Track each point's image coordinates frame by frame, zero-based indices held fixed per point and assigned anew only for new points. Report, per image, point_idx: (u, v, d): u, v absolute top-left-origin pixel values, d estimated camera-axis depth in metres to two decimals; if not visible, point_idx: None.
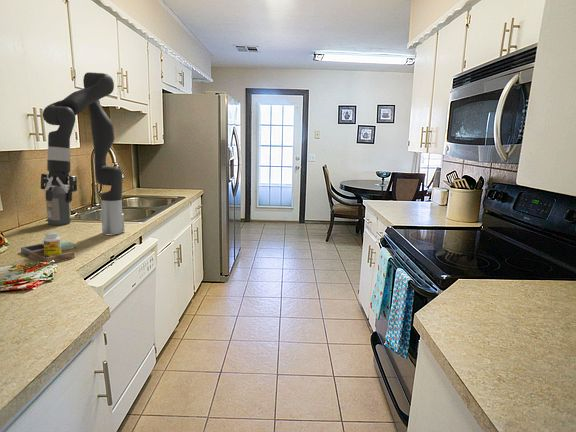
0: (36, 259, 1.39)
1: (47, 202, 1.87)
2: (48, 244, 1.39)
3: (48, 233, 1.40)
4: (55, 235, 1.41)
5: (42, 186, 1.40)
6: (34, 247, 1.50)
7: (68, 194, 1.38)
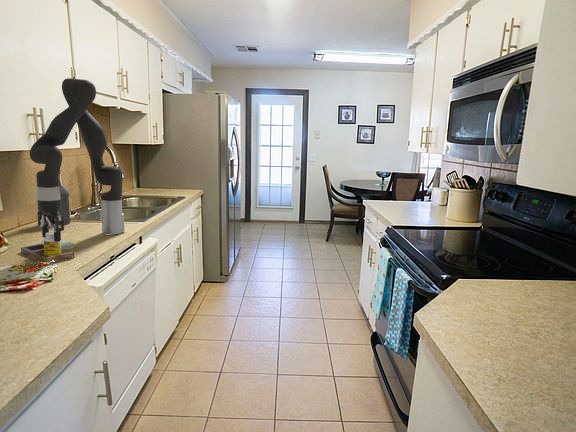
0: (36, 259, 1.39)
1: None
2: (48, 244, 1.39)
3: (48, 233, 1.40)
4: None
5: (39, 223, 1.42)
6: (34, 247, 1.50)
7: (56, 233, 1.38)
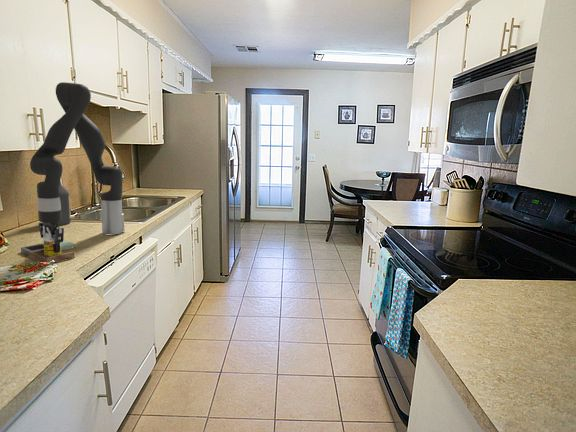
0: (36, 259, 1.39)
1: None
2: (48, 244, 1.39)
3: (48, 233, 1.40)
4: None
5: (41, 235, 1.43)
6: (34, 247, 1.50)
7: (55, 245, 1.40)
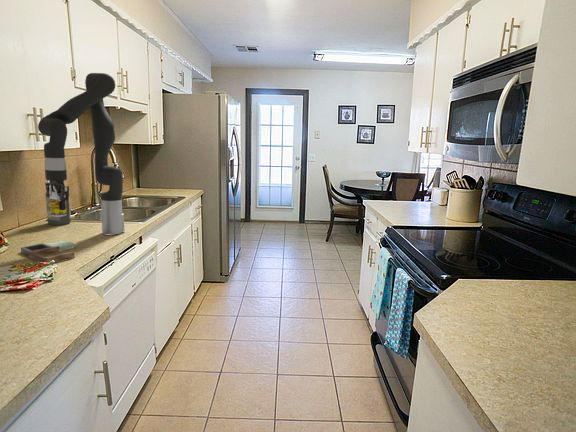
0: (36, 259, 1.39)
1: (47, 202, 1.87)
2: (54, 201, 1.49)
3: (54, 192, 1.50)
4: None
5: (48, 194, 1.52)
6: (34, 247, 1.50)
7: (61, 202, 1.49)
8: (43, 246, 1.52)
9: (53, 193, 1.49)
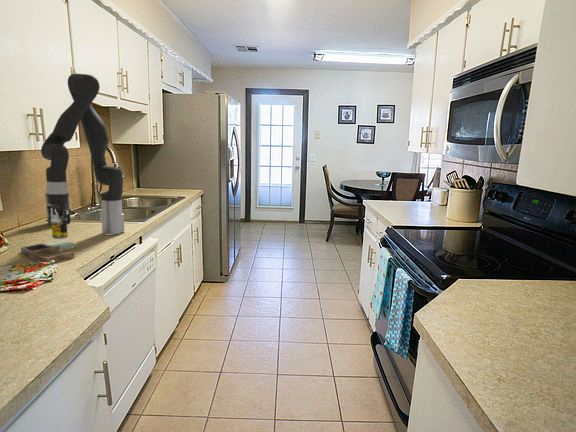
0: (36, 259, 1.39)
1: None
2: (55, 224, 1.51)
3: (56, 215, 1.52)
4: (62, 216, 1.52)
5: (49, 217, 1.54)
6: (34, 247, 1.50)
7: (62, 225, 1.51)
8: (43, 246, 1.52)
9: (55, 216, 1.51)
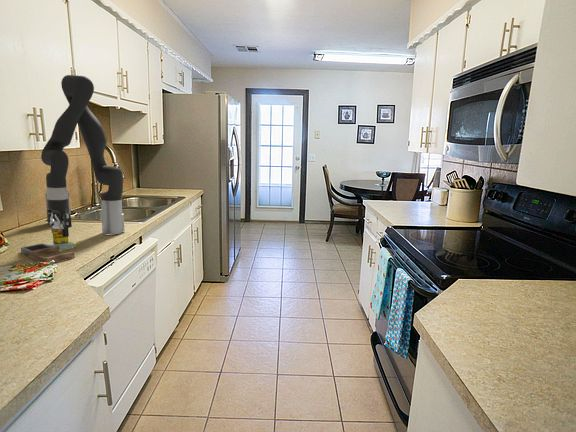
0: (36, 259, 1.39)
1: None
2: (56, 231, 1.51)
3: (56, 221, 1.52)
4: None
5: (48, 220, 1.55)
6: (34, 247, 1.50)
7: (64, 230, 1.51)
8: (43, 246, 1.52)
9: (55, 223, 1.51)
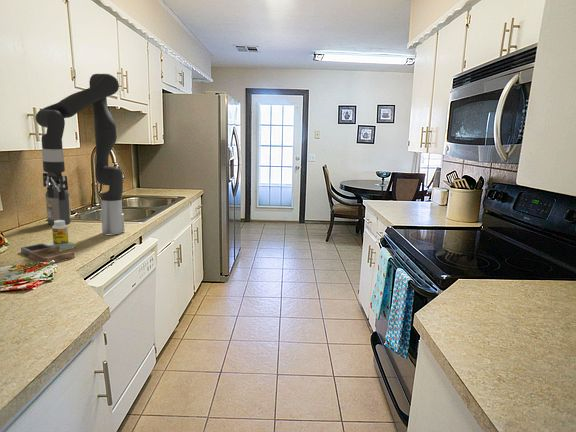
0: (36, 259, 1.39)
1: (47, 202, 1.87)
2: (56, 231, 1.51)
3: (56, 221, 1.52)
4: (63, 223, 1.53)
5: (44, 184, 1.53)
6: (34, 247, 1.50)
7: (60, 193, 1.48)
8: (43, 246, 1.52)
9: (55, 223, 1.51)
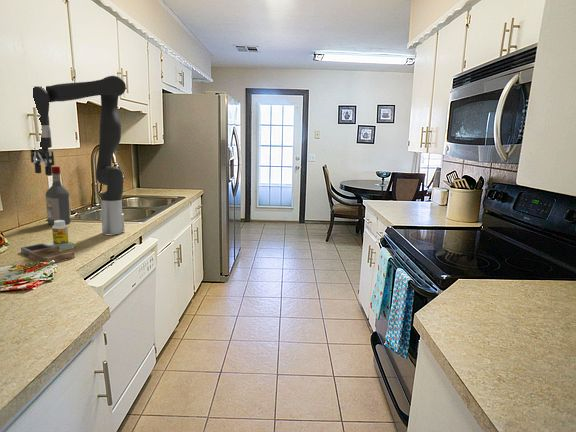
0: (36, 259, 1.39)
1: (47, 202, 1.87)
2: (56, 231, 1.51)
3: (56, 221, 1.52)
4: (63, 223, 1.53)
5: (32, 160, 1.58)
6: (34, 247, 1.50)
7: (47, 168, 1.53)
8: (43, 246, 1.52)
9: (55, 223, 1.51)
